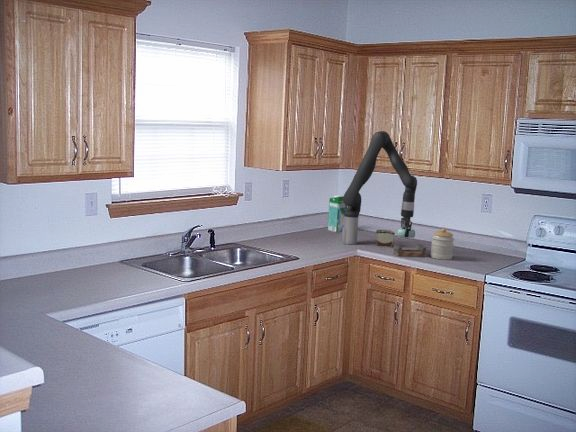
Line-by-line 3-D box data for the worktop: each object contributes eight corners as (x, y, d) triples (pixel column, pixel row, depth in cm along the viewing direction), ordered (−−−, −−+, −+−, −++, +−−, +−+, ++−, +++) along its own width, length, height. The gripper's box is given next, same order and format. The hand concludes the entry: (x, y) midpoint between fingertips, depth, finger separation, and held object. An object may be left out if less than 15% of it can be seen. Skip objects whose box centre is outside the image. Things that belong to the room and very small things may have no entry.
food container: (393, 245, 424) (394, 230, 422) (394, 247, 418) (395, 231, 416) (374, 244, 425) (375, 228, 424) (374, 246, 419) (375, 230, 417)
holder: (397, 256, 392) (398, 247, 391) (393, 253, 400) (394, 244, 400) (425, 257, 394) (426, 247, 393) (420, 253, 403) (421, 244, 402)
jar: (449, 261, 386) (451, 231, 384) (427, 257, 393) (429, 228, 390) (455, 257, 398) (457, 228, 395) (433, 254, 404) (436, 225, 401)
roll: (399, 233, 401) (398, 227, 405) (397, 238, 405) (396, 232, 408) (415, 234, 403) (414, 228, 406) (413, 239, 407) (411, 233, 410)
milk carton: (336, 229, 473) (338, 194, 469) (345, 231, 466) (348, 196, 462) (327, 230, 467) (329, 194, 463) (336, 232, 460) (338, 196, 456)
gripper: (398, 206, 409) (395, 233, 412) (405, 210, 395) (402, 238, 398) (409, 207, 411) (407, 234, 413) (417, 211, 397) (414, 239, 399)
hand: (405, 236), depth 406 cm, fingers closed on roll, 5 cm apart
